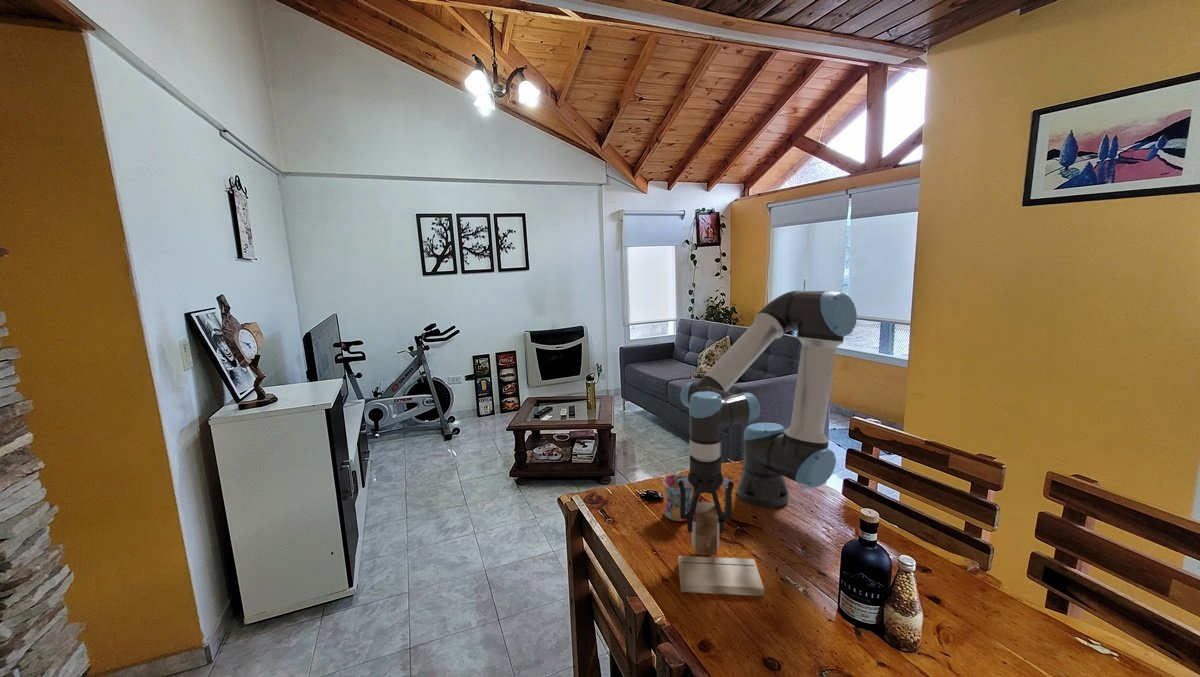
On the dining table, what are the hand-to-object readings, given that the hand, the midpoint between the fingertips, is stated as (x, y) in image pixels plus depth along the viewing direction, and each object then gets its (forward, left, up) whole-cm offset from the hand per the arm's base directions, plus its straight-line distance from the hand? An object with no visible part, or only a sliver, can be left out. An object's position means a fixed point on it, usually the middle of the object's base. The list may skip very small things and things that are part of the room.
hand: (705, 543), depth 113 cm
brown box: (0, +2, -1) cm, 2 cm away
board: (-2, +8, -3) cm, 9 cm away
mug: (+5, -20, -4) cm, 21 cm away
